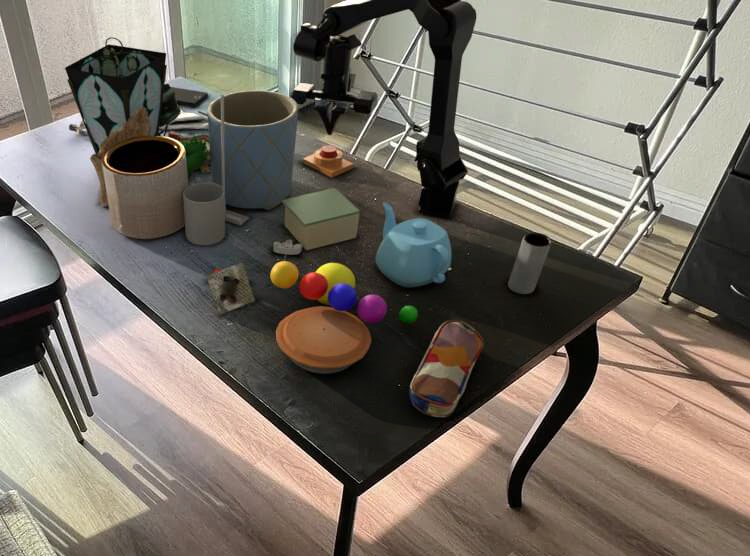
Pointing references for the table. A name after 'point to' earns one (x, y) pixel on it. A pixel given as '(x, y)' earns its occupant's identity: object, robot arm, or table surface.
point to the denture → (174, 135)
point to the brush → (228, 216)
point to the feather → (180, 129)
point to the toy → (194, 156)
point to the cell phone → (189, 96)
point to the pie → (323, 339)
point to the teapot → (413, 251)
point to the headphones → (168, 108)
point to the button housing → (328, 163)
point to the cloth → (188, 122)
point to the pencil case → (445, 369)
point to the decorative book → (205, 138)
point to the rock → (132, 128)
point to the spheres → (336, 290)
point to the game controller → (287, 248)
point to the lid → (320, 207)
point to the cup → (204, 213)
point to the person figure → (78, 128)
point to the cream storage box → (322, 230)
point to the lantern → (117, 88)
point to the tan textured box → (230, 288)
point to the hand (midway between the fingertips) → (330, 134)
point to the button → (328, 151)
